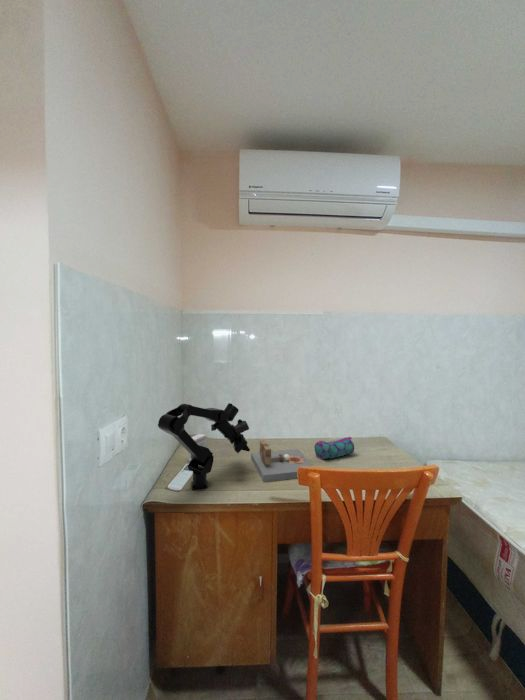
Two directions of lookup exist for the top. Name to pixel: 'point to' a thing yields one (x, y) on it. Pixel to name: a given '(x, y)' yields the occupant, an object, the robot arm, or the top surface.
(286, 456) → the ball
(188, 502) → the top surface
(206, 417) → the robot arm
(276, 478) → the deck
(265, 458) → the plunger
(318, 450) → the pencil case
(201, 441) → the ink box
